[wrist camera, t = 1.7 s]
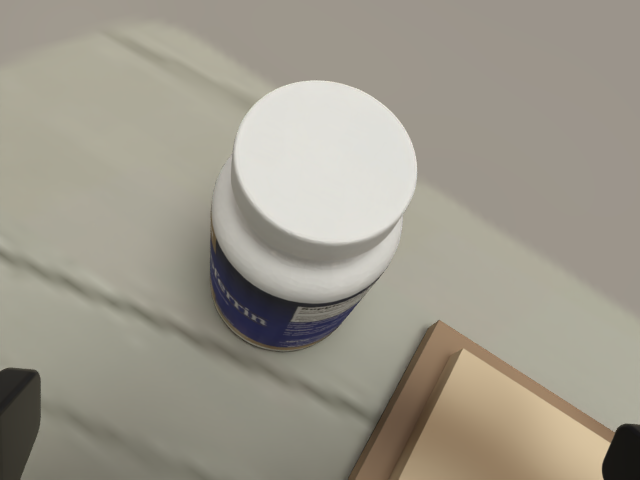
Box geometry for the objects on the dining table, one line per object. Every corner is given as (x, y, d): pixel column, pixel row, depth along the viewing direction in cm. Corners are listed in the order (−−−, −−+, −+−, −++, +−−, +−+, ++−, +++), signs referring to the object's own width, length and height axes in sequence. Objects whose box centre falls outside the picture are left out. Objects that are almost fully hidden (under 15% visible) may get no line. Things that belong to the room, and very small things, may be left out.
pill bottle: (187, 249, 23) (174, 94, 14) (312, 202, 25) (371, 39, 16) (246, 381, 21) (275, 300, 12) (375, 319, 23) (481, 211, 14)
